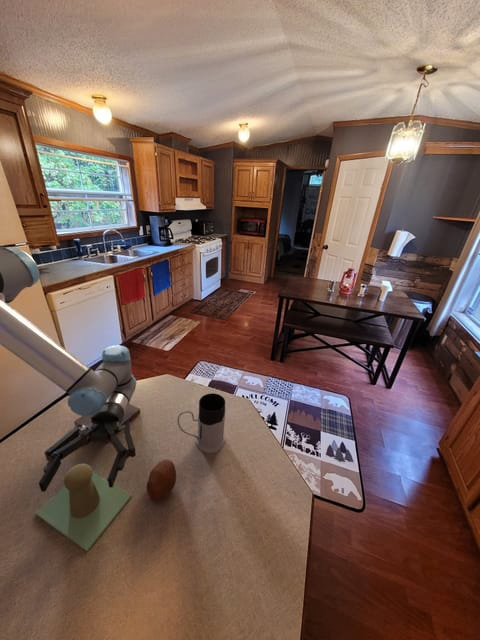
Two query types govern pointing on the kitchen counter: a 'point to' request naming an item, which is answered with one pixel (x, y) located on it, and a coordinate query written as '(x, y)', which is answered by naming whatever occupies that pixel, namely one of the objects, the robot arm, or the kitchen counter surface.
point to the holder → (128, 417)
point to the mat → (89, 526)
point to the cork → (81, 491)
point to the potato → (161, 480)
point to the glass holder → (209, 423)
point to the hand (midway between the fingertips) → (76, 485)
